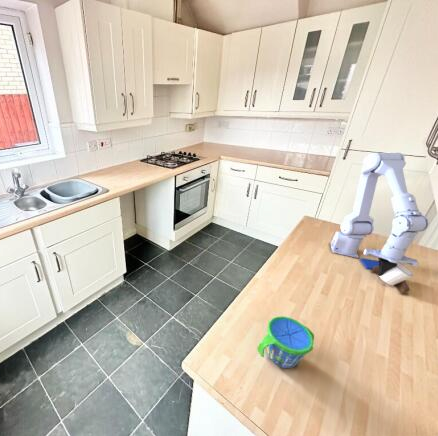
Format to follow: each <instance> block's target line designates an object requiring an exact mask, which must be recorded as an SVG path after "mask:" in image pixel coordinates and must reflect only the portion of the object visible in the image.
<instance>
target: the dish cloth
mask: <svg viewBox="0 0 438 436" xmlns="http://www.w3.org/2000/svg"><path fill="white" fill-rule="evenodd" d="M359 260H360V262H361V263H362V265H363V266H364V267H365V269H366V270H370V271H372V269H373V267H374V265H376V266H379V260H375V259H369V258H363V257H360V259H359Z"/></svg>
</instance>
